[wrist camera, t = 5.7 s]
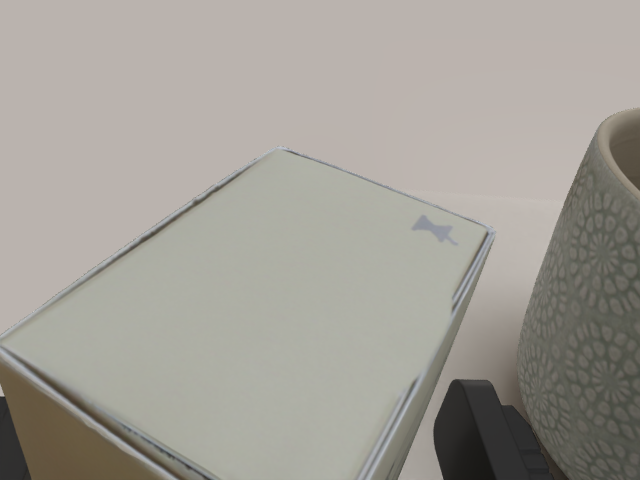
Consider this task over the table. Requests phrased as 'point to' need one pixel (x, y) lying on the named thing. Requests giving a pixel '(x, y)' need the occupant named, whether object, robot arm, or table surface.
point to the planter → (590, 316)
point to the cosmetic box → (250, 335)
